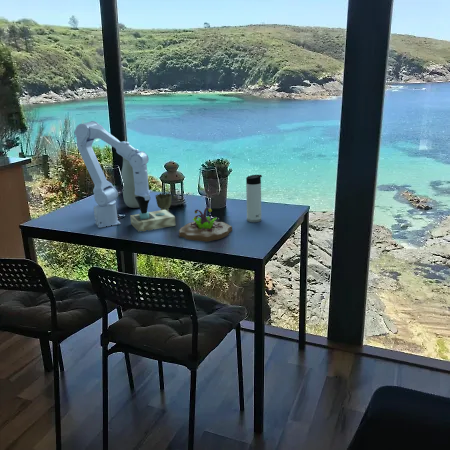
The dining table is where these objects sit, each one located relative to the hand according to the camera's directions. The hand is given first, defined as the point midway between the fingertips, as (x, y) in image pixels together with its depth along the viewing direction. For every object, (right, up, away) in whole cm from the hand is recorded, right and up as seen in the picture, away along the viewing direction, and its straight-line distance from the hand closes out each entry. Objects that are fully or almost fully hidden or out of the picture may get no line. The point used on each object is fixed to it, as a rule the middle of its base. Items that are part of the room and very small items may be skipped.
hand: (144, 212), depth 205 cm
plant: (+27, -9, -8) cm, 29 cm away
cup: (+6, +1, +22) cm, 22 cm away
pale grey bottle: (-9, +3, +29) cm, 31 cm away
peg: (0, -4, +1) cm, 4 cm away
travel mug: (+47, -3, +4) cm, 47 cm away
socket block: (+3, -5, +3) cm, 7 cm away
